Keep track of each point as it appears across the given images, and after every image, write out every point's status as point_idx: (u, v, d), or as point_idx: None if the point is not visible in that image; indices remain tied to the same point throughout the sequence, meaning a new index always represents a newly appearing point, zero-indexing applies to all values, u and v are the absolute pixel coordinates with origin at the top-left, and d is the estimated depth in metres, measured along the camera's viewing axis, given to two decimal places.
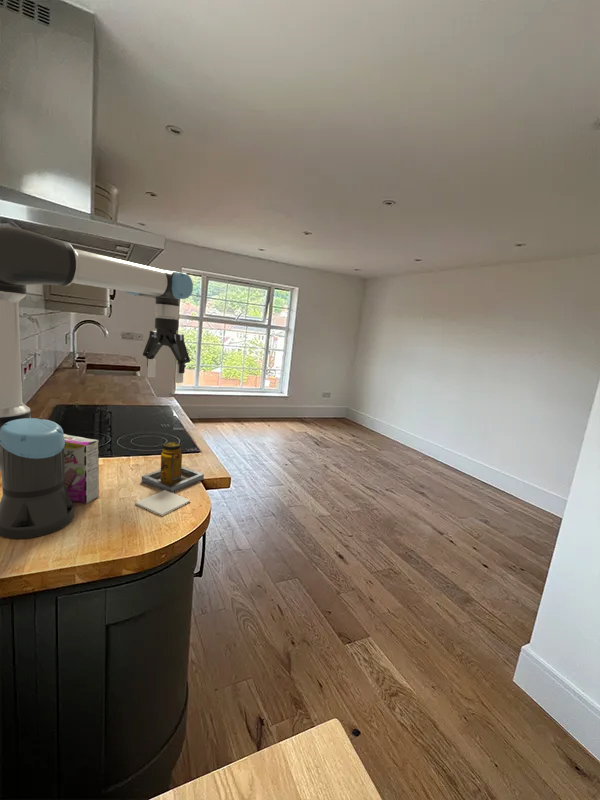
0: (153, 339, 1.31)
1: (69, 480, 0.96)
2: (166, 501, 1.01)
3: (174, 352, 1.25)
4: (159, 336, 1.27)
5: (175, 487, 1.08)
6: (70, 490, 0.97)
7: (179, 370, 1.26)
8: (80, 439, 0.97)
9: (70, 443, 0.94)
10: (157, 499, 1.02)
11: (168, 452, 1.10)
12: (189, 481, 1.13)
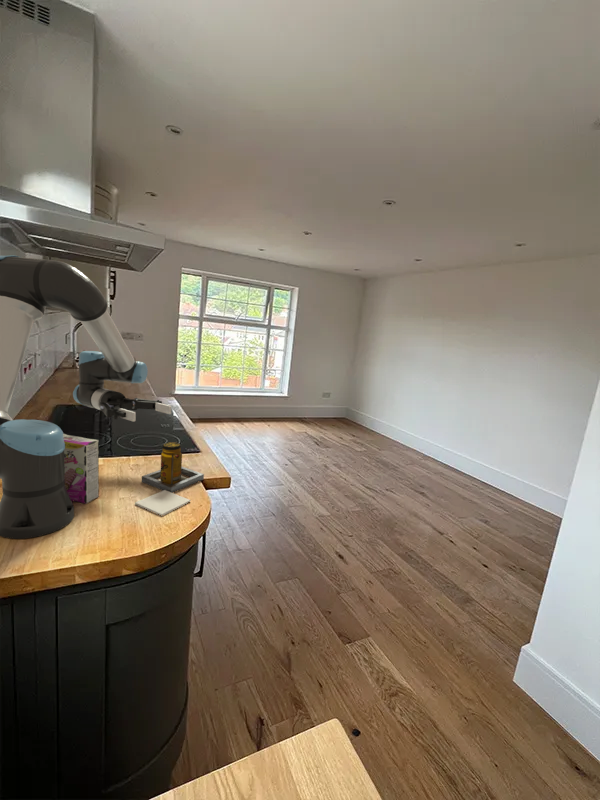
0: None
1: (69, 480, 0.96)
2: (166, 501, 1.01)
3: (145, 401, 1.25)
4: (118, 399, 1.22)
5: (175, 487, 1.08)
6: (70, 490, 0.97)
7: None
8: (80, 439, 0.97)
9: (70, 443, 0.94)
10: (157, 499, 1.02)
11: (168, 452, 1.10)
12: (189, 481, 1.13)
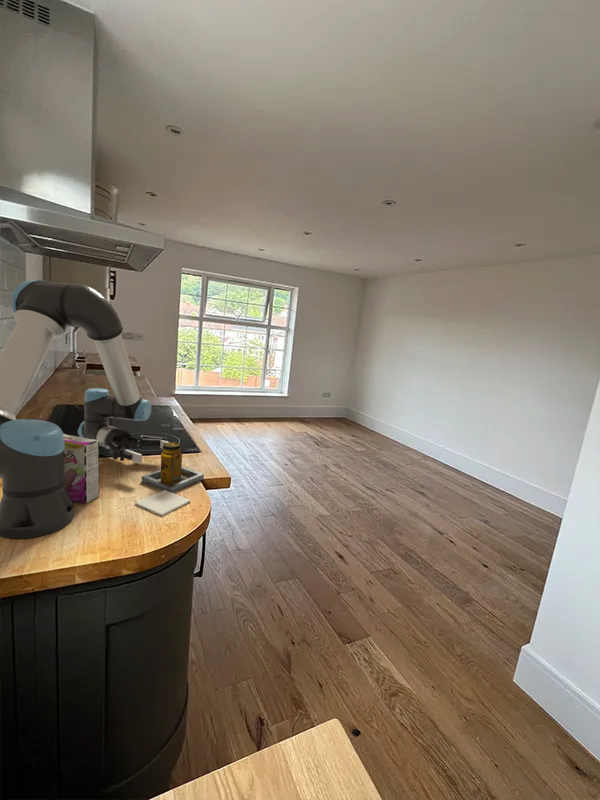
0: None
1: (69, 480, 0.96)
2: (166, 501, 1.01)
3: (150, 439, 1.27)
4: (124, 438, 1.23)
5: (175, 487, 1.08)
6: (70, 490, 0.97)
7: (167, 442, 1.26)
8: (80, 439, 0.97)
9: (70, 443, 0.94)
10: (157, 499, 1.02)
11: (168, 452, 1.10)
12: (189, 481, 1.13)
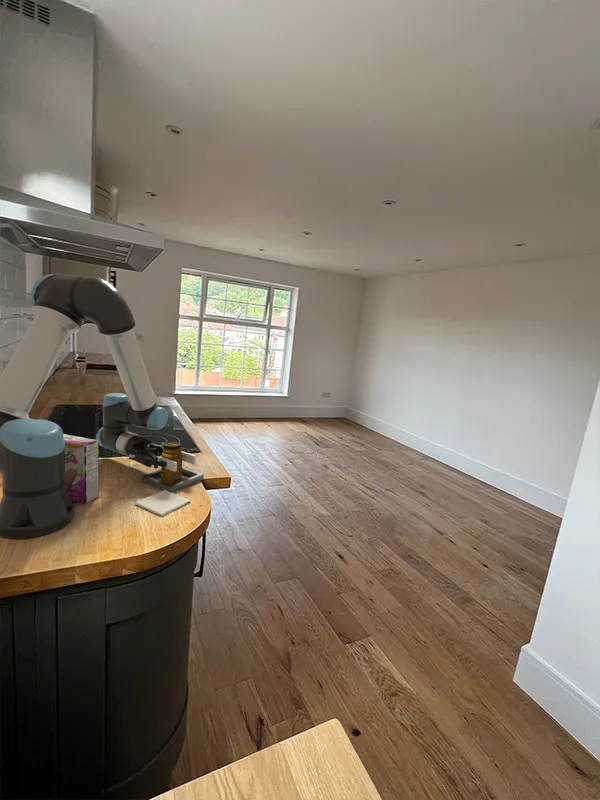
0: None
1: (69, 480, 0.96)
2: (166, 501, 1.01)
3: None
4: (144, 445, 1.18)
5: (175, 487, 1.08)
6: (70, 490, 0.97)
7: None
8: (80, 439, 0.97)
9: (70, 443, 0.94)
10: (157, 499, 1.02)
11: (169, 452, 1.11)
12: (189, 481, 1.13)
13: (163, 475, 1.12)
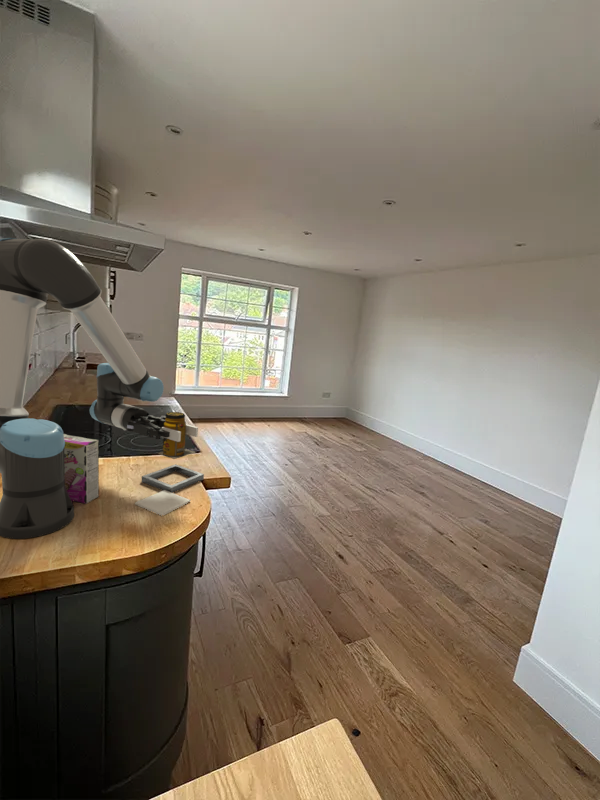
0: None
1: (69, 480, 0.96)
2: (166, 501, 1.01)
3: None
4: (143, 416, 1.10)
5: (175, 487, 1.08)
6: (70, 490, 0.97)
7: None
8: (80, 439, 0.97)
9: (70, 443, 0.94)
10: (157, 499, 1.02)
11: (172, 421, 1.03)
12: (189, 481, 1.13)
13: (165, 447, 1.05)
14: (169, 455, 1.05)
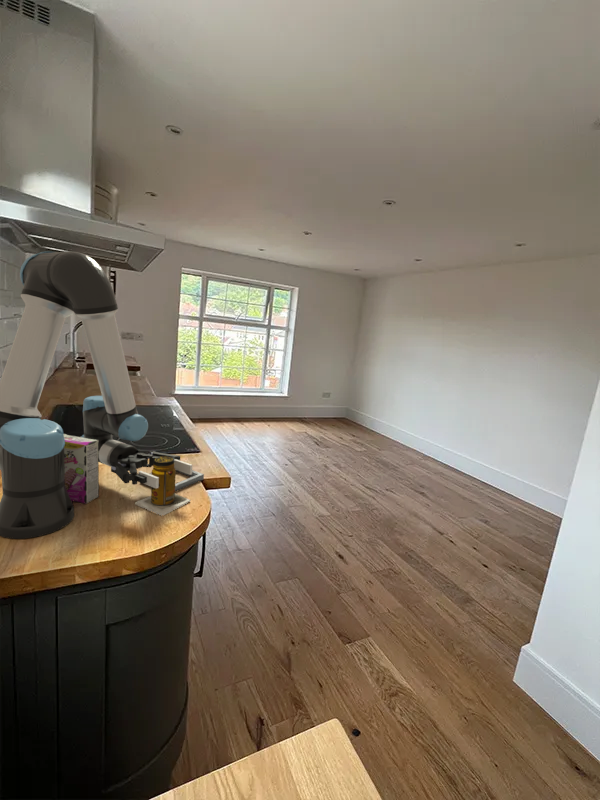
0: None
1: (69, 480, 0.96)
2: None
3: None
4: (131, 455, 1.03)
5: (175, 487, 1.08)
6: (70, 490, 0.97)
7: None
8: (80, 439, 0.97)
9: (70, 443, 0.94)
10: None
11: (160, 469, 0.96)
12: (189, 481, 1.13)
13: (153, 495, 0.98)
14: (157, 504, 0.98)
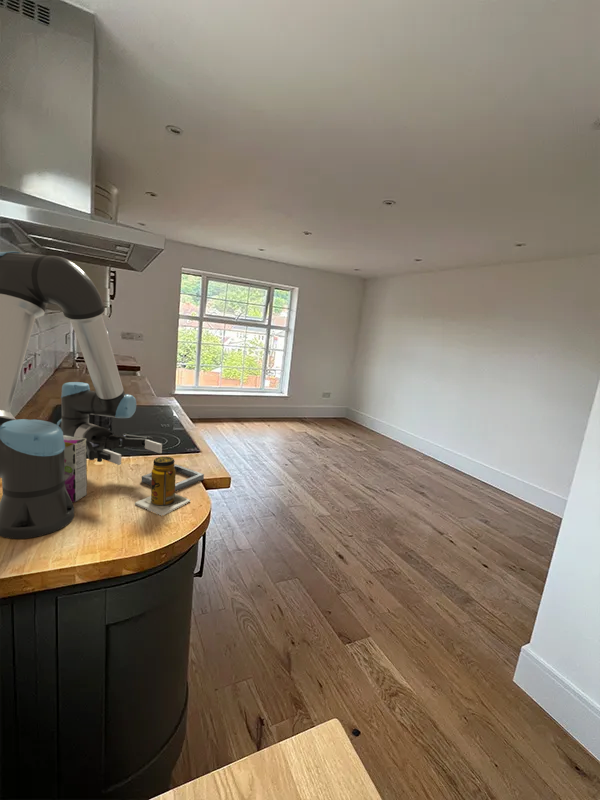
0: None
1: None
2: None
3: (133, 438, 1.14)
4: (104, 436, 1.10)
5: (175, 487, 1.08)
6: None
7: None
8: (68, 438, 0.97)
9: None
10: None
11: (160, 469, 0.96)
12: (189, 481, 1.13)
13: (153, 495, 0.98)
14: (157, 504, 0.98)
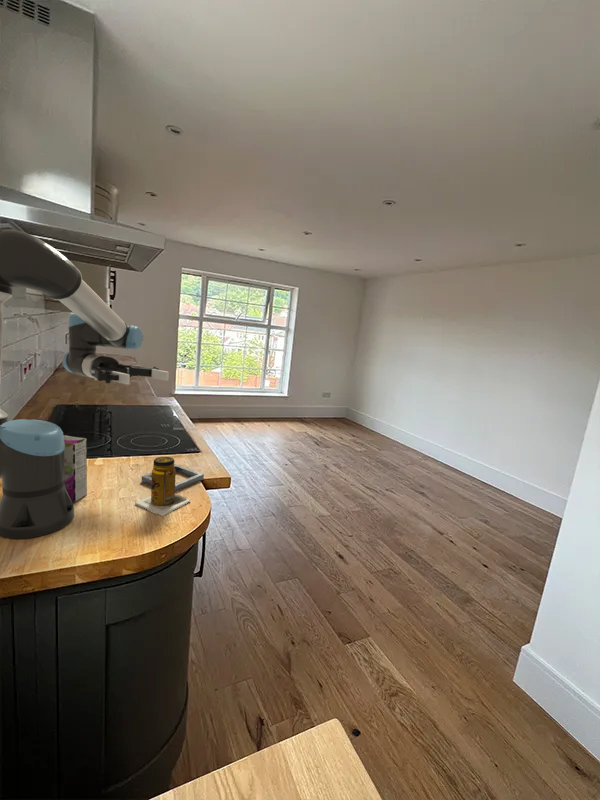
0: None
1: None
2: None
3: (140, 368, 1.15)
4: (111, 364, 1.12)
5: (175, 487, 1.08)
6: None
7: None
8: (68, 438, 0.97)
9: None
10: None
11: (160, 469, 0.96)
12: (189, 481, 1.13)
13: (153, 495, 0.98)
14: (157, 504, 0.98)
